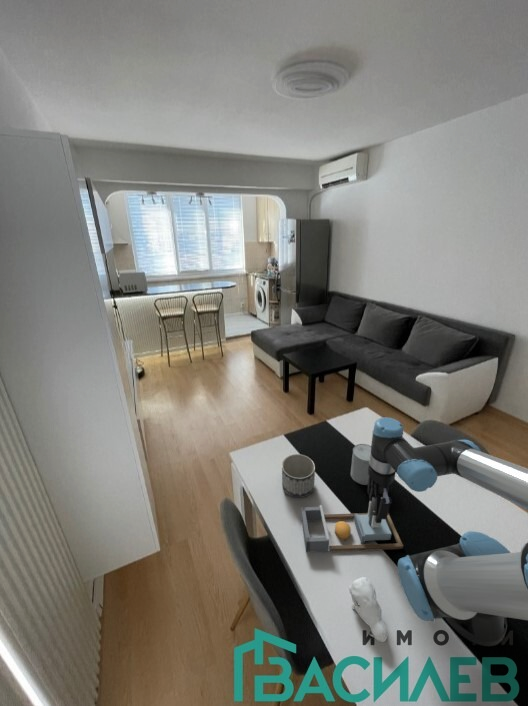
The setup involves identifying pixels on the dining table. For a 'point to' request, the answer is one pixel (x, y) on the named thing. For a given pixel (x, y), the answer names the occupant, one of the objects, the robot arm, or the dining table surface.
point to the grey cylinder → (360, 463)
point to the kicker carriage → (366, 529)
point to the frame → (310, 543)
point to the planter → (298, 475)
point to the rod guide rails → (366, 546)
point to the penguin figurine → (368, 607)
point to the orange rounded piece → (342, 530)
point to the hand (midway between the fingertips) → (373, 521)
